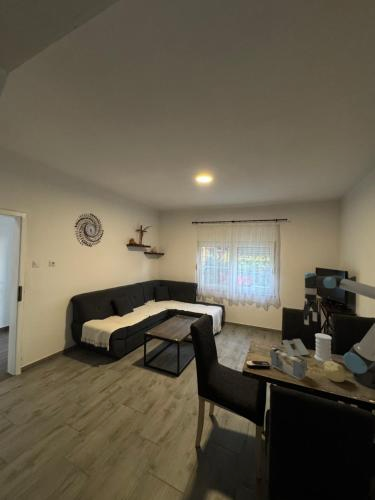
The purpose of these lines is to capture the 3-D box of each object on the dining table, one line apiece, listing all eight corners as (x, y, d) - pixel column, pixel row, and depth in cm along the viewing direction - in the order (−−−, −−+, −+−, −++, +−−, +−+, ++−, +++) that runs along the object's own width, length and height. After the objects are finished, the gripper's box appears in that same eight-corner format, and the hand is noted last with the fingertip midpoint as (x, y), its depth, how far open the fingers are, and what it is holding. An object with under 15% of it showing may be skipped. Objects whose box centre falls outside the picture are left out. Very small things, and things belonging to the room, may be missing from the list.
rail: (302, 366, 141) (302, 360, 141) (298, 368, 138) (298, 362, 138) (278, 356, 154) (278, 350, 155) (274, 358, 152) (275, 352, 152)
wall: (307, 358, 172) (299, 341, 183) (310, 354, 166) (301, 336, 177) (287, 360, 173) (280, 343, 184) (289, 356, 167) (281, 338, 178)
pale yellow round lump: (320, 374, 142) (320, 358, 143) (337, 374, 142) (337, 358, 143) (331, 384, 131) (331, 367, 131) (350, 384, 131) (350, 367, 131)
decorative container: (312, 354, 170) (312, 332, 171) (328, 356, 167) (328, 334, 167) (317, 361, 159) (317, 337, 159) (334, 364, 156) (334, 339, 156)
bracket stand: (307, 375, 140) (307, 359, 140) (300, 380, 135) (300, 363, 135) (276, 361, 158) (276, 347, 158) (269, 365, 153) (269, 350, 153)
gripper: (312, 291, 165) (312, 318, 164) (297, 294, 150) (297, 324, 149) (323, 292, 159) (323, 320, 158) (308, 296, 144) (308, 327, 143)
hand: (310, 322), depth 154 cm, fingers open, 13 cm apart
